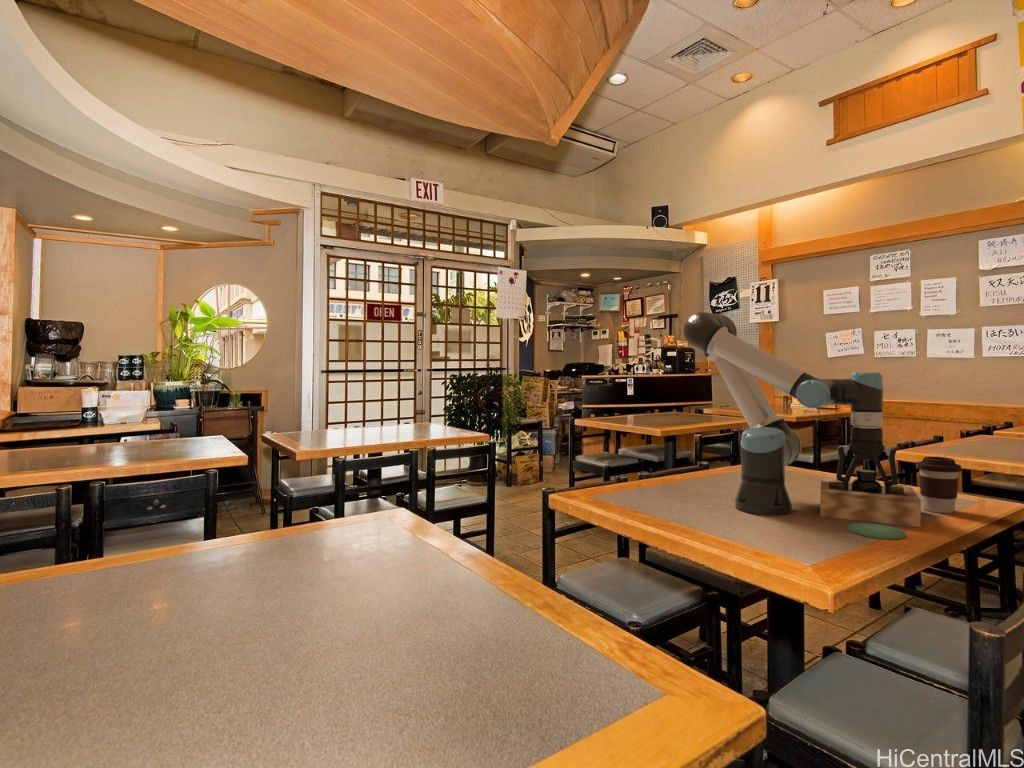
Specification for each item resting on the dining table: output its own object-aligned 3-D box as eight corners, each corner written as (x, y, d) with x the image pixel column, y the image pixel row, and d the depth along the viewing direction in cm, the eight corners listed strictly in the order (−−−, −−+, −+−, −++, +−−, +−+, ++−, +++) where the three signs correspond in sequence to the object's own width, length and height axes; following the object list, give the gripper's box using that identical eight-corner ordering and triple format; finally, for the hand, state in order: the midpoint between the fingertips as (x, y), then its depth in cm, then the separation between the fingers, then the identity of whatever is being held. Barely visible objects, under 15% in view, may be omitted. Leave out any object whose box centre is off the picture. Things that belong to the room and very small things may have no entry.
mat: (849, 535, 134) (849, 533, 134) (847, 523, 145) (847, 520, 145) (909, 542, 128) (909, 540, 128) (902, 529, 139) (902, 526, 139)
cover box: (820, 516, 152) (820, 491, 151) (820, 501, 168) (820, 478, 168) (920, 526, 140) (920, 499, 140) (910, 509, 157) (910, 485, 157)
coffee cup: (944, 506, 160) (945, 455, 160) (969, 515, 151) (970, 461, 150) (908, 505, 161) (909, 455, 161) (931, 514, 151) (931, 461, 151)
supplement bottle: (886, 516, 151) (886, 473, 151) (861, 516, 151) (861, 473, 151) (870, 509, 158) (870, 468, 157) (846, 509, 158) (846, 468, 158)
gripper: (825, 426, 156) (825, 506, 156) (912, 429, 146) (911, 514, 146) (825, 424, 162) (825, 500, 163) (908, 426, 152) (908, 508, 153)
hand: (866, 507), depth 154 cm, fingers open, 7 cm apart
